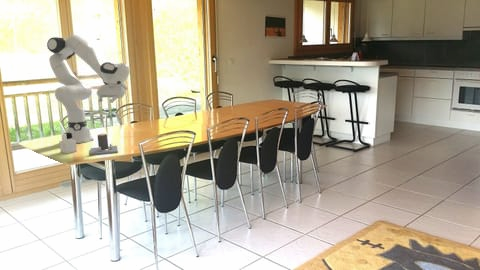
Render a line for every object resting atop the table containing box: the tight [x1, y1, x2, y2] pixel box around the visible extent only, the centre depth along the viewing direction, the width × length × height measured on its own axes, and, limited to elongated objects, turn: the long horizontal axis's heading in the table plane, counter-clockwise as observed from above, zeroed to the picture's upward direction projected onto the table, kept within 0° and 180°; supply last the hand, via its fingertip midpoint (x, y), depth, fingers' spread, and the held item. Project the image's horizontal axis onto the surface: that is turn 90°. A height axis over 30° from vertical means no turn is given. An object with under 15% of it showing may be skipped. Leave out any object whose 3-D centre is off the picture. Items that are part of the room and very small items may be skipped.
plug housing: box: [97, 133, 109, 150], centre depth 264 cm, size 4×4×10 cm
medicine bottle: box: [58, 132, 78, 155], centre depth 265 cm, size 7×7×12 cm
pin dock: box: [89, 143, 119, 156], centre depth 265 cm, size 16×16×4 cm
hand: (105, 101), depth 271 cm, fingers open, 8 cm apart
